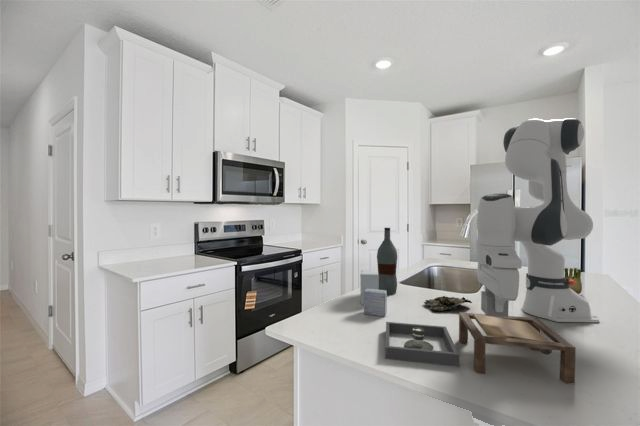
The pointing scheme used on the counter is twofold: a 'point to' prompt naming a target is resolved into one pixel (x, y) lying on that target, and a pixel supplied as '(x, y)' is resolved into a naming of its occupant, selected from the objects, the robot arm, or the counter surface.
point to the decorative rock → (445, 303)
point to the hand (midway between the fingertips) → (494, 307)
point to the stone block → (492, 305)
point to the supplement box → (368, 282)
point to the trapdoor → (510, 329)
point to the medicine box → (375, 302)
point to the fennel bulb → (575, 277)
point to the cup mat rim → (421, 354)
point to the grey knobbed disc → (418, 340)
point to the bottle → (387, 264)
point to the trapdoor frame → (519, 343)
